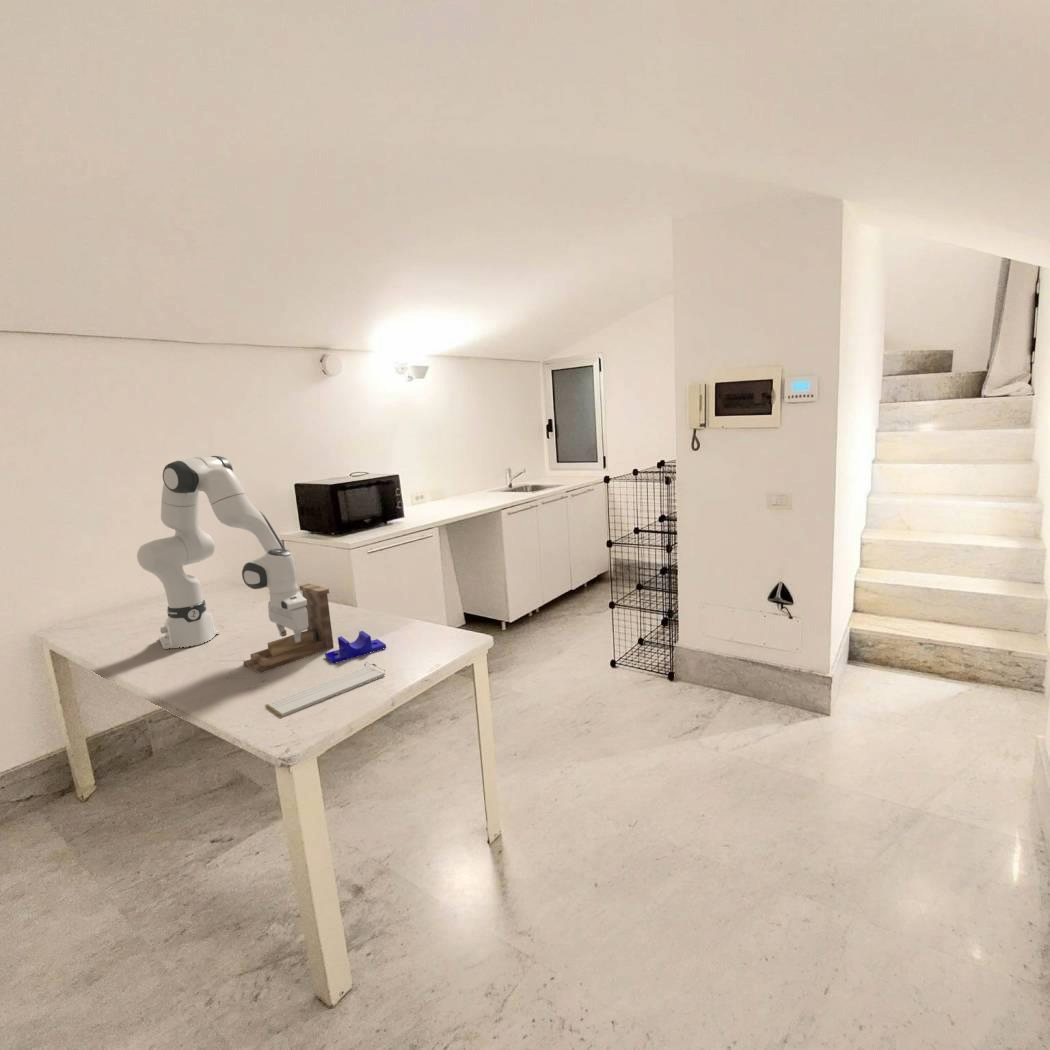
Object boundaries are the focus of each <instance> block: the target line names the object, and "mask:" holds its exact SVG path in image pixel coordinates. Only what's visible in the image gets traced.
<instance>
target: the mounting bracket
mask: <svg viewBox="0 0 1050 1050" xmlns="http://www.w3.org/2000/svg"><path fill="white" fill-rule="evenodd" d="M337 641H338V642H337V643H338V649H336V650H333V651H328V652H325V653H324V658H325V657H326V658H327V659H326V658H325V659H326V660H328V662H330V664H332V663H334V664H337V663H336V662H338V663H341V662H344V661H343V660H345V661H348V660H351V658H352V659H355V658H358V657H357V656H359V657H361V655H362V656H365V655H364V654H366V655H368V654H367V653H369V654H371V653H370V652H373V651H376V652H378V651H377V650H380V649H383V648H386V649H387V644H386V643H384V642H382V640H380V639H377V638H376V639H373V640H372V637H371V635H370V634H368V633H366V632H365V631H363V630H361V631H358V636H357V638H356V639H355V640H354V641H352V642H350V641H349V640H347V639H346V638H344V637H343V636H337ZM383 650H384V649H383ZM380 651H381V650H380ZM373 653H374V652H373ZM354 657H355V658H354ZM347 659H348V660H347ZM340 661H341V662H340Z"/></svg>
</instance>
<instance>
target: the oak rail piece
mask: <svg viewBox="0 0 1050 1050" xmlns="http://www.w3.org/2000/svg"><path fill="white" fill-rule="evenodd" d="M293 637H294V634H291V635H288V636H284V637H282V638H279V639H275V640H273V641H270V642H267V643H266V644H267V649H268V651H269V658H270V657H273V656H276V655H279V654H282V653H285V652H288V651H291V650H294V649H297V648H300V647H302V646H305V645H308V644H311V643H314V642H317V640H316V632H315V631H313V630H310V629H309V630H307V629H306V630H304V631H302V632H301V636H300V638H301V641H300V642H297V643H296V642H294V641H293Z"/></svg>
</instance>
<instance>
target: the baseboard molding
mask: <svg viewBox="0 0 1050 1050" xmlns="http://www.w3.org/2000/svg"><path fill="white" fill-rule="evenodd" d="M367 664H369V665H367ZM366 665H367V666H366ZM364 666H365V667H364ZM372 666H374V667H377V668H378V669H377V668H374V667H372ZM385 671H386V670H385V669H383V671H381V670H379V667H378V666H377V664H376V663H371V665H370V663H369V662H367V661H365V663H364V664H363V667H361V668H357V669H355V670H353V671H350V672H348V673H345V674H342V675H340V676H336V677H333V678H332V679H331V678H330V679H329V680H326V681H323V682H320V683H318V684H315V685H313V686H310V687H307V688H305V689H302V690H299V691H297V692H294V693H292V694H291V693H290V694H289V695H285V696H284V697H281V698H278V699H276V700H274V701H271V702H268V703H266V704H265V706H266V707H267V706H268V707H267V708H269V709H270V708H271V709H270V710H271V711H273V712H274V711H275V712H274V713H276V714H277V715H279V716H280V717H285V716H288V715H290V714H292V713H295V712H297V711H300V710H303V709H305V708H307V707H311V706H313V705H316V704H318V703H320V701H321V702H322V700H323V701H326V700H328V699H330V698H329V697H331V698H333V697H335V696H334V695H336V696H338V695H340V694H339V693H341V694H343V693H345V692H344V691H346V692H348V691H351V690H353V689H355V688H354V687H356V688H358V687H360V686H359V685H361V684H363V685H365V684H364V683H366V684H368V683H370V682H369V681H371V682H373V681H375V680H374V679H376V678H378V679H380V678H379V677H381V678H383V677H385V676H386V674H385V673H386V672H385ZM384 675H385V676H384ZM382 676H383V677H382ZM372 680H373V681H372ZM376 680H377V679H376ZM367 682H368V683H367ZM357 686H358V687H357ZM361 686H362V685H361ZM352 688H353V689H352ZM350 689H351V690H350ZM347 690H348V691H347ZM342 692H343V693H342ZM337 694H338V695H337ZM332 696H333V697H332ZM327 698H328V699H327ZM325 699H326V700H325ZM317 702H318V703H317ZM315 703H316V704H315ZM310 705H311V706H310Z"/></svg>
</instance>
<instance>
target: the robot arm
mask: <svg viewBox="0 0 1050 1050" xmlns="http://www.w3.org/2000/svg"><path fill="white" fill-rule="evenodd" d="M233 470H234V469H233V466H232V464H231V463H230V461H229V460H228V458H226V457H224V456H219V455H211V456H198V457H192V458H187V459H182V460H175V461H172V462H170V463H168V464H166V465H165V466H164V468H163V470H162V480H163V485H162V490H161V502H160V503H161V507H160V520H161V522H162V524H163V525H164V526H166V527H167V528H169V529H171V530H174V531H175V533H174V535H172V536H168V537H163V538H158V539H154V540H152V541H149V542H146V543H145V544H142V545H140V547H139V548H138V551H137V555H136V558H137V562H138V565H139V566H140V567H141V568H142V569H143V570H144V571H147V572H148V573H151V574H153V575H154V576H155V577H157V578H158V579H159V581H160V582H161V583H162V586H163V588H164V591H165V595H166V600H167V605H168V606H167V611H166V612H167V619H166V620H165V622H164V623H163V624H164V626H161V627H160V628H159V629H160V633H161V634H163V635H160V636H159V638H158V640H159V642H160V644H161V647H162V649H163V650H170V649H183V648H182V647H184V648H189V646H191V647H195V646H199V645H201V644H204V642H205V643H207V641H208V642H210V641H211V640H213V639H214V638H215V637H216V636H217V635H216V634H218V633H219V634H220V630H218V629H215V625H214V621H213V617H212V614H211V613H210V612H208V611H207V604H206V600H204V596H203V591H202V583H201V581H200V579H198V578H197V577H195V576H194V575H190V574H186V572H185V571H184V568H183V567H184V566H188V565H191V564H197V563H200V562H201V561H204V560H207V559H209V558H211V557H212V556H213V555H214V552H215V547H216V546H215V541H214V539H213V538H212V536H211V534H210V535H209V534H208V533H207V532H205V531H204V530H203V529H202V528H201V526H200V523H199V496H200V495H199V493H200V492H204V493H205V494H206V496H207V499H208V501H209V502H208V503H209V504H210V506H211V509H212V511H213V513H214V515H215V517H216V518H217V520H218V521H219V522H220V523H221V524H222V525H225V526H227V527H229V528H235V529H242V530H244V531H248V532H250V533H252V534H253V535H254V537H255V536H256V538H257V541H258V542H259V543H260V544H261V547H262V548H263V550H264V552H265V554H264V555H262V556H260V557H258V558H255V559H253V560H250V561H249V562H246V563H245V564H244V565H243V567H242V570H241V577H242V581H243V582H244V584H245V585H246V586H247V587H248V588H250V589H251V590H259V589H264V588H268V591H269V599H270V600H269V601H268V602H267V603H268V605H267V608H268V609H267V610H268V619H269V621H270V622H271V623H275V625H276V627H277V630H278V634H279V636H280V637H282V638H284V637H287V630H286V629H289V630H291V631H293V635H294V637H293V641H294V642H296V643H297V642H300V641H301V638H300V636H301V632H304V631H307V628H308V614H307V609H306V607H305V606H306V605H307V600H306V599H305V598H304V597H303V594H302V592H300V588H299V585H298V583H297V573H298V572H297V565H296V561H295V558H294V556H293V553H292V552H291V551H290V550H288V549H286V547H285V546H284V544H283V543H282V541H281V540H280V538H279V537H278V535H277V533H276V531H275V530H274V528H273V526H272V525H271V523H270V521H269V520H268V518H267V517H266V516H265V514H263V512H262V511H260V510H258V509H257V508H256V507H255V506H254V505H253V503H252V502H251V500H250V499H249V497H248V494H246V491H245V489H244V487H243V485H242V483H241V481H240V480H239V478H238V477H237V475H236V474H235V473H234V471H233ZM219 634H218V635H219ZM215 635H216V636H215ZM214 636H215V637H214ZM213 637H214V638H213ZM212 638H213V639H212ZM209 640H210V641H209ZM194 645H195V646H194ZM179 647H180V648H179ZM169 648H170V649H169Z"/></svg>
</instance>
